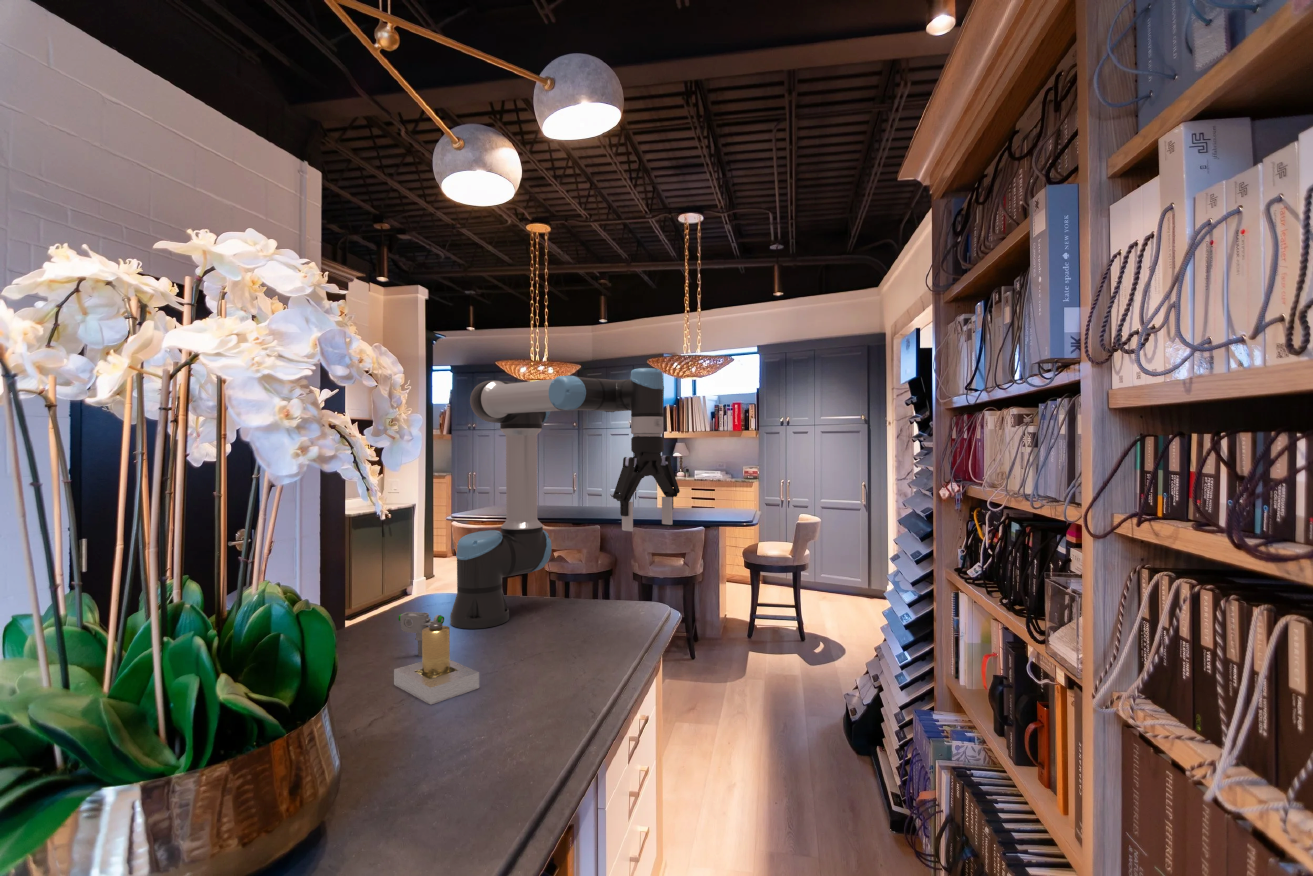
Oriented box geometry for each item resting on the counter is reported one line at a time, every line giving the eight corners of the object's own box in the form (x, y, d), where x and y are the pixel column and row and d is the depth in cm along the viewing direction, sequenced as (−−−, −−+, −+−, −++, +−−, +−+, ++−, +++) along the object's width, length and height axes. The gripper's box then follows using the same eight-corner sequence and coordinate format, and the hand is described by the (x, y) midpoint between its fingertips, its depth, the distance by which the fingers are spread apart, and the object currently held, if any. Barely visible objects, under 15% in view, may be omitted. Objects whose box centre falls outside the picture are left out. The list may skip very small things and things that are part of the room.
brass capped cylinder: (417, 686, 122) (417, 624, 122) (441, 679, 126) (441, 619, 126) (430, 693, 119) (430, 629, 119) (454, 685, 122) (454, 623, 122)
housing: (394, 689, 123) (393, 669, 123) (441, 675, 130) (441, 655, 130) (430, 710, 114) (430, 688, 114) (479, 693, 121) (479, 672, 121)
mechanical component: (439, 663, 137) (438, 617, 137) (396, 660, 140) (396, 615, 140) (446, 658, 140) (446, 613, 140) (404, 655, 142) (404, 611, 142)
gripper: (620, 435, 135) (621, 535, 135) (693, 435, 153) (694, 523, 153) (596, 435, 140) (597, 532, 140) (670, 435, 158) (670, 520, 158)
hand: (648, 527), depth 146 cm, fingers open, 13 cm apart
